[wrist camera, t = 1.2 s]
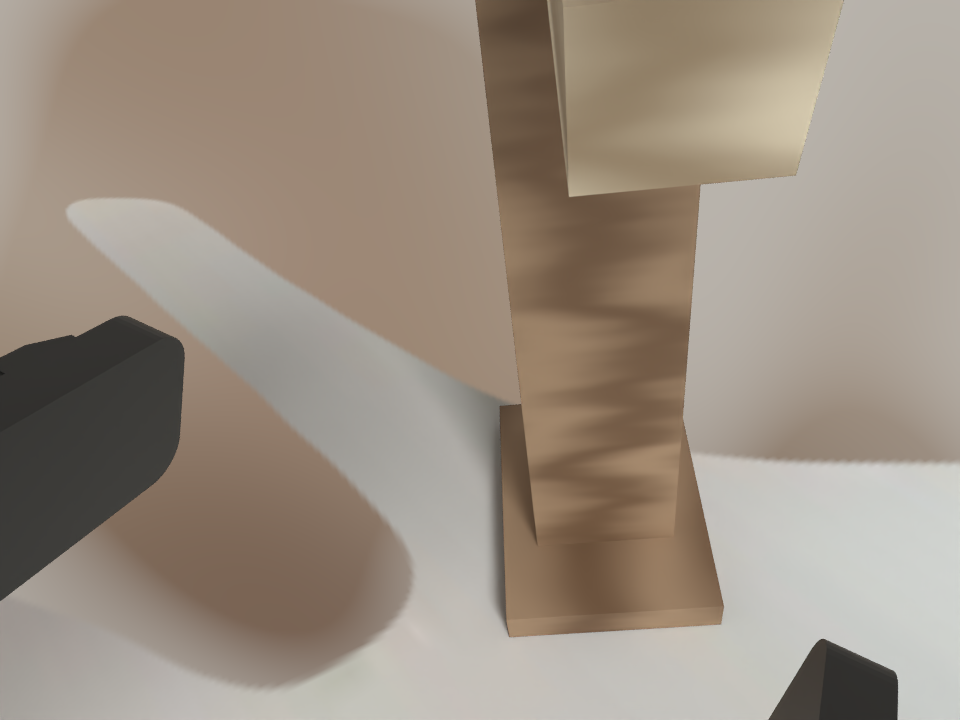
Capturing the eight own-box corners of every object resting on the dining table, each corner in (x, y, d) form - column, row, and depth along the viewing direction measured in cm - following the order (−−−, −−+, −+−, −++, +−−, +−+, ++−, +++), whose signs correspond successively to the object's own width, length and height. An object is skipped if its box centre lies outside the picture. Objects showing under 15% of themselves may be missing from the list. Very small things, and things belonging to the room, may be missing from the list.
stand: (675, 411, 47) (725, -329, 25) (721, 624, 39) (855, -211, 17) (502, 424, 48) (402, -286, 26) (509, 637, 39) (370, -150, 17)
